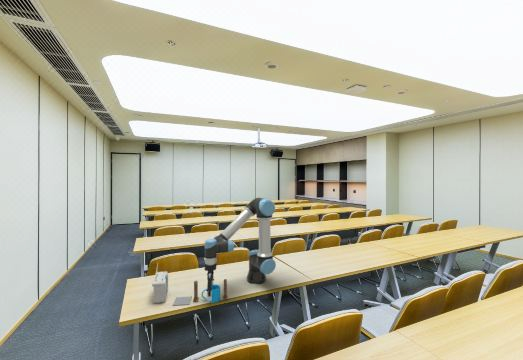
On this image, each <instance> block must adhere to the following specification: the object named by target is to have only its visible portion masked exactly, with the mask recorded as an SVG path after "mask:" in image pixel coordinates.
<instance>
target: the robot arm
mask: <svg viewBox="0 0 523 360" xmlns="http://www.w3.org/2000/svg"><path fill="white" fill-rule="evenodd" d="M243 209H244V210H242V211H241V213H240V214H238V216H236V217H235V219H233V220H232V221H231V223H230V224H229V225H227V226H226V228H224V229H223V231H221V232H220V234H218V235H215V236H214V237H213V238H208V239H206V240H205V242H204V258H203V260H204V270H205V271H206V272H207V273H206V277H207V284H206V285H207V287H206V289H207V290H206V291H205V292H207V293H206V294H207V295H206V298H207V299H206V302H208V301H212V285H214V281H215V278H214V271H216V270H217V254H224V253H231V252H233V251H234V250H235V242H234V241H233V239H232V240H230V239H231V238H232V237H233V236H234V235H235V234H236V233H237V232H238V231H239V230H240V229H241V227H243V226H244V225H245V223H247V222H248V221H249V220H250V219H251V218H252V217H255V216H256V217H255V218H256V219H257V220H258V249H252V250H250V251H249V252H248V272H247V276H246V281H247V282H248V283H249V284H253V285H254V284H255V285H259V284H260V285H261V284H263V283H265V282H266V281H267V275H270V274H272V273H273V272H274V271H275V269H276V266H277V265H276V261H275V260H274V258H273V257H274V254H273V253H272V249H271V247H272V246H271V243H272V242H271V238H272V237H271V219H272V218H273V214H274V213H275V211H276V206H275V203H274V202H273V201H272V200H271V199H268V198H264V197H256V198H254V199H252V200H250V201H249V202H248V204H247V205H245V207H244V208H243Z"/></svg>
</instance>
